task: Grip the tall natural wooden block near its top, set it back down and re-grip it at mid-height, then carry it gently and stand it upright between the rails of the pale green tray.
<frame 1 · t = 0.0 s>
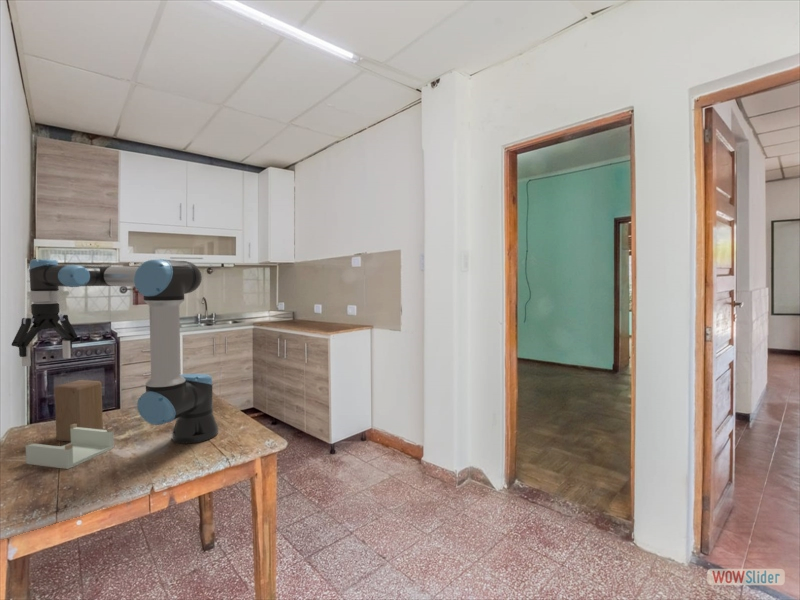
hand: (47, 361, 142), 28 cm above the table, fingers open, 13 cm apart
wooden block: (80, 437, 145), on the table
pale green tray: (72, 455, 130), on the table
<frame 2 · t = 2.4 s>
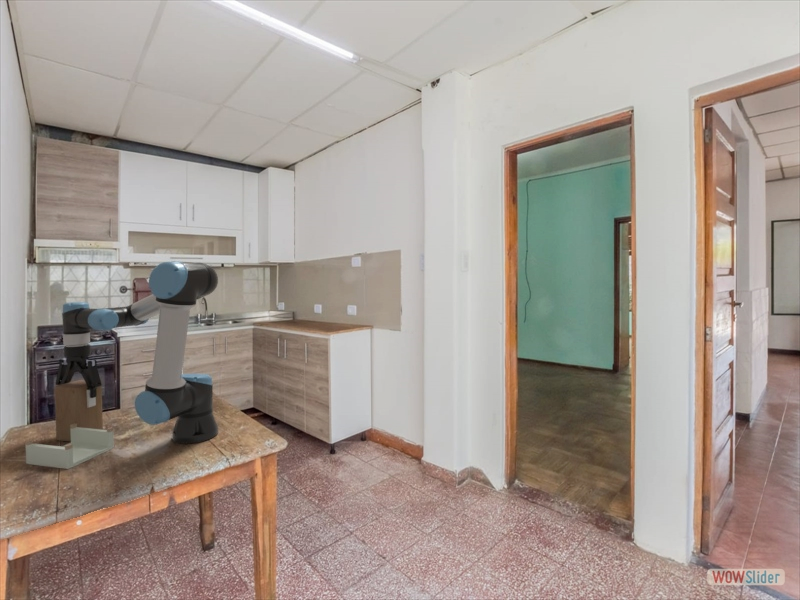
hand: (79, 405, 145), 12 cm above the table, fingers closed on wooden block, 10 cm apart
wooden block: (80, 437, 145), on the table, touching gripper
when the fingers open (12 cm above the table, at t = 4.3 s): wooden block stays where it is, on the table.
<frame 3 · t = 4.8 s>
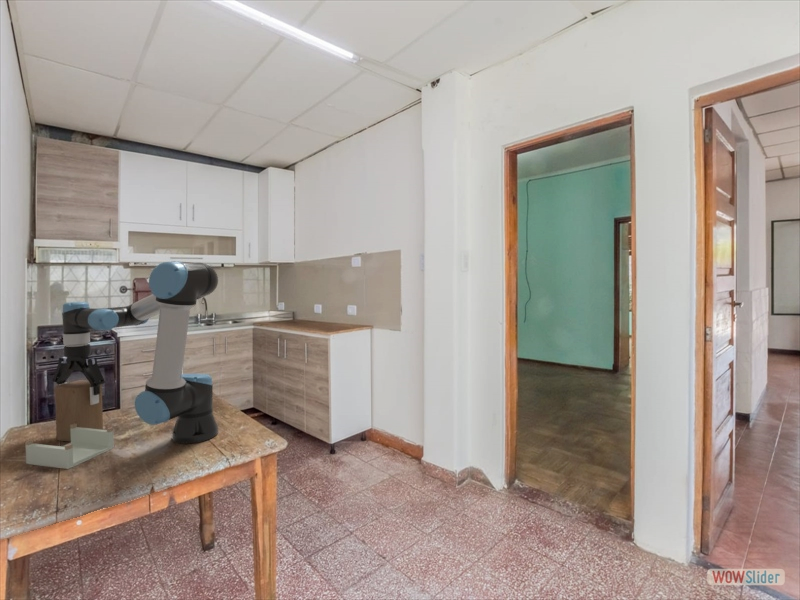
hand: (79, 402, 145), 13 cm above the table, fingers open, 13 cm apart
wooden block: (80, 437, 145), on the table
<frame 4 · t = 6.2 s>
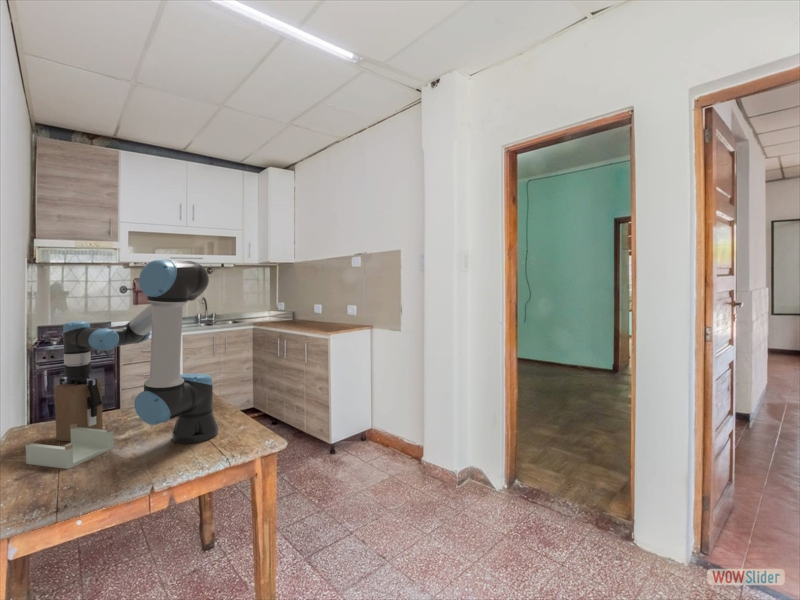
hand: (79, 424, 145), 5 cm above the table, fingers closed on wooden block, 10 cm apart
wooden block: (80, 437, 145), on the table, touching gripper
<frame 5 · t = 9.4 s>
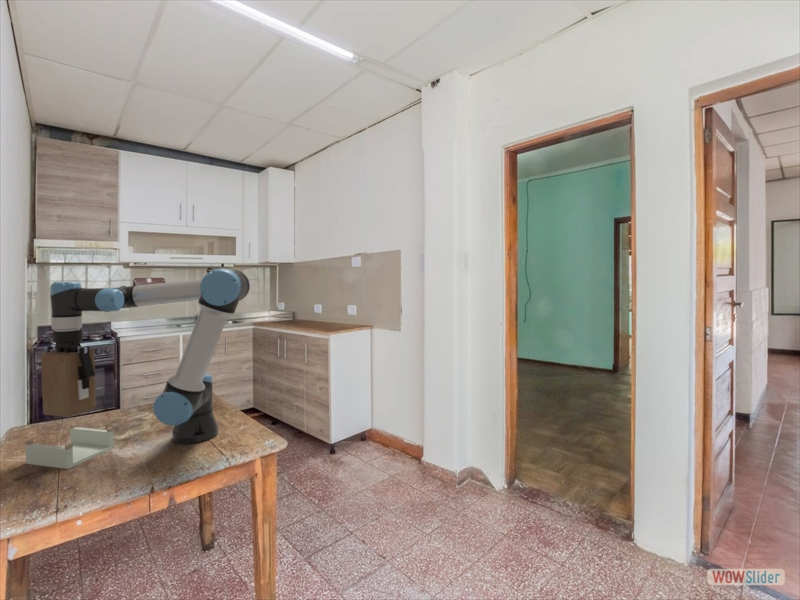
hand: (70, 397, 129), 19 cm above the table, fingers closed on wooden block, 10 cm apart
wooden block: (70, 412, 130), point 14 cm above the table, touching gripper
when the fingers open (7 cm above the table, at t = 12.7 s): wooden block drops 1 cm, resting on pale green tray.
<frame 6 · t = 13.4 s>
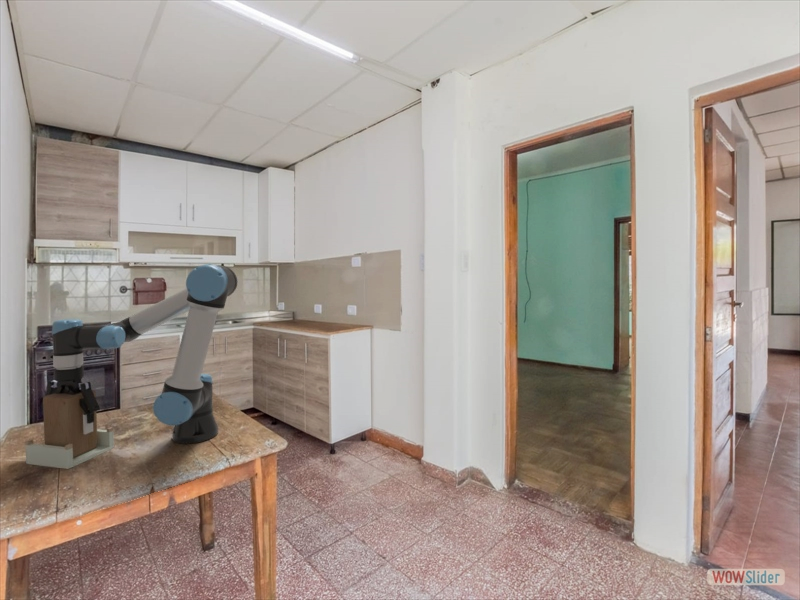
hand: (71, 431, 130), 8 cm above the table, fingers open, 13 cm apart
wooden block: (72, 453, 130), point 1 cm above the table, touching pale green tray
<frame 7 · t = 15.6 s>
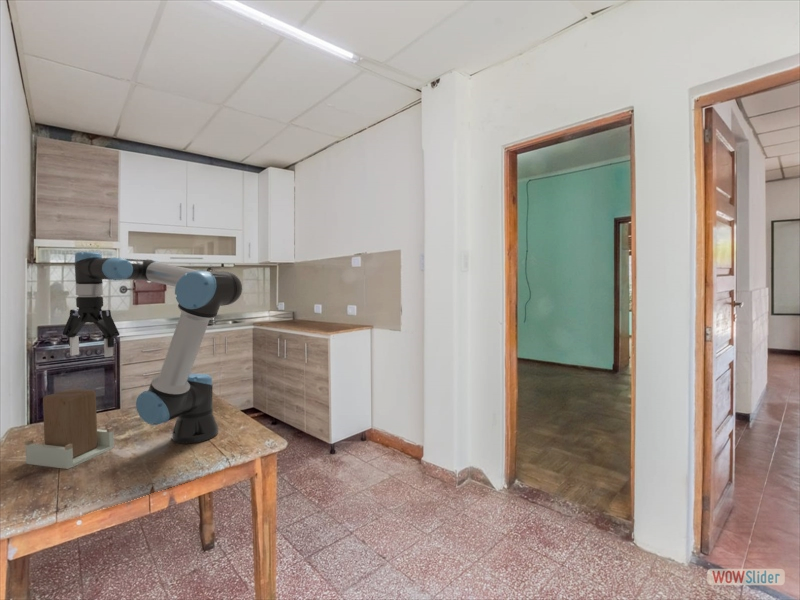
hand: (91, 355, 141), 31 cm above the table, fingers open, 13 cm apart
nothing on the table moved.
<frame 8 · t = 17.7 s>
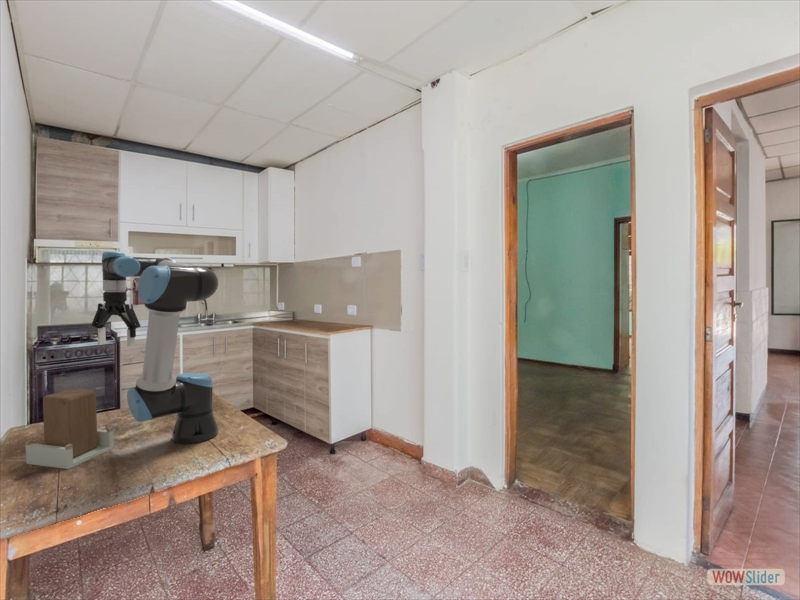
hand: (116, 345, 157), 32 cm above the table, fingers open, 13 cm apart
nothing on the table moved.
at the end: wooden block inside the target area on the pale green tray (0.1 cm from its centre), point 0.8 cm above the pale green tray's base; wooden block tilted 0°; the gripper is holding nothing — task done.
